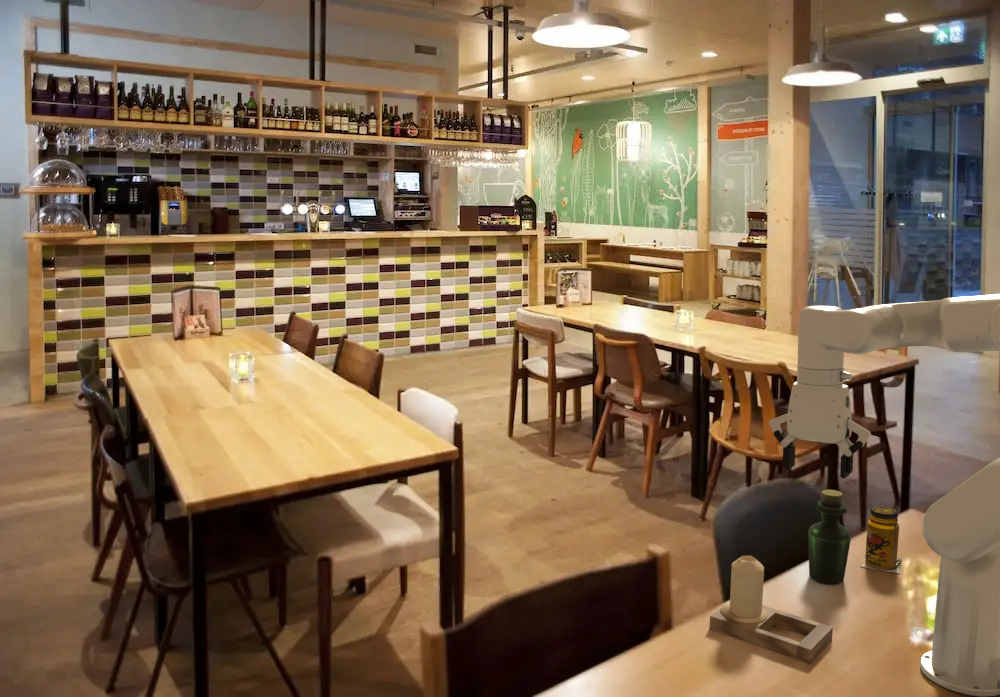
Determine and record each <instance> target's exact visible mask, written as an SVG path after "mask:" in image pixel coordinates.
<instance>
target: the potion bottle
mask: <svg viewBox="0 0 1000 697" xmlns="http://www.w3.org/2000/svg"><path fill="white" fill-rule="evenodd" d="M821 496H822V499H820V500H818V501H817V503H816V505H815V507H814V508H815V509H816V510H817V511H818V512H820V515H821V518H822V519H821V520H822V521H819V522H816V523H813V524H811V526H810V527H809V528H808V531H807V541H808V543H807V545H808V547H807V548H808V575H809V577H810V578H811V580H812V581H815V582H816V583H818V584H822V585H827V586H835V585H836V586H837V585H841V583H843V582H844V580H845V575H846V571H847V563H848V557H849V554H850V552H849V551H850V546H851V541H852V534H851V532H850V530H848V528H847V527H845V526H844V525H842V524H840V523H839V520H840V518H841V516H842V515H844V514H846V513H847V512H848V509H847V506H846V504H845V503H844V502H841V501H842V497H843V492H841V491H839V490H835V489H823V490H821Z"/></svg>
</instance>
